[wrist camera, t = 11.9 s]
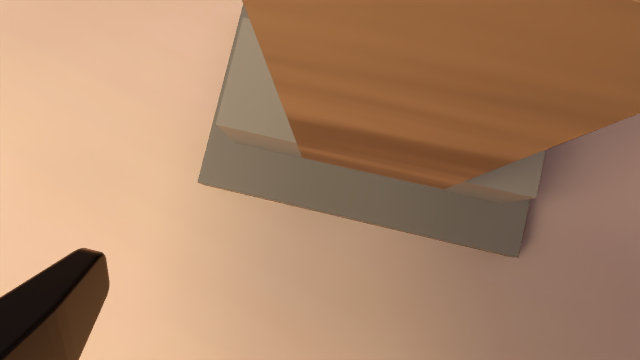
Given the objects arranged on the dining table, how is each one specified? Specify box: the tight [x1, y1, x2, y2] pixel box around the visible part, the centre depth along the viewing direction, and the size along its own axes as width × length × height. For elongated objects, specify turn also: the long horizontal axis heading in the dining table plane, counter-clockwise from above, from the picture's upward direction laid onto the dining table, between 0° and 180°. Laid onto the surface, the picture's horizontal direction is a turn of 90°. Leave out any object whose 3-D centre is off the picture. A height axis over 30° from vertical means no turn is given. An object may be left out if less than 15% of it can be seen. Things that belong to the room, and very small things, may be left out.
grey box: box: [198, 4, 546, 258], centre depth 19 cm, size 12×7×4 cm, turn 77°
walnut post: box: [242, 0, 640, 189], centre depth 11 cm, size 4×4×13 cm
